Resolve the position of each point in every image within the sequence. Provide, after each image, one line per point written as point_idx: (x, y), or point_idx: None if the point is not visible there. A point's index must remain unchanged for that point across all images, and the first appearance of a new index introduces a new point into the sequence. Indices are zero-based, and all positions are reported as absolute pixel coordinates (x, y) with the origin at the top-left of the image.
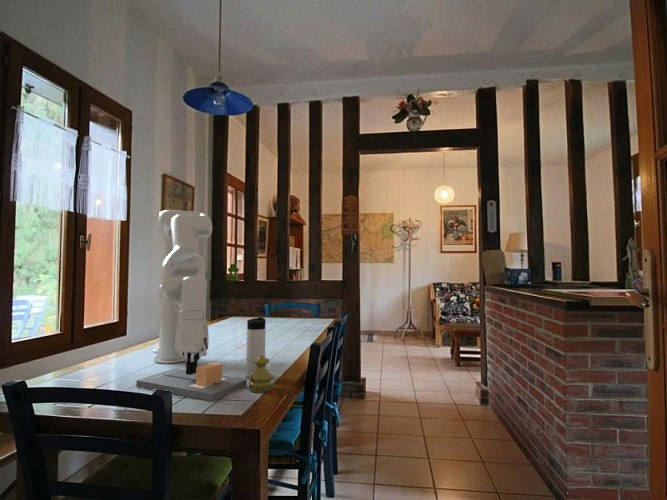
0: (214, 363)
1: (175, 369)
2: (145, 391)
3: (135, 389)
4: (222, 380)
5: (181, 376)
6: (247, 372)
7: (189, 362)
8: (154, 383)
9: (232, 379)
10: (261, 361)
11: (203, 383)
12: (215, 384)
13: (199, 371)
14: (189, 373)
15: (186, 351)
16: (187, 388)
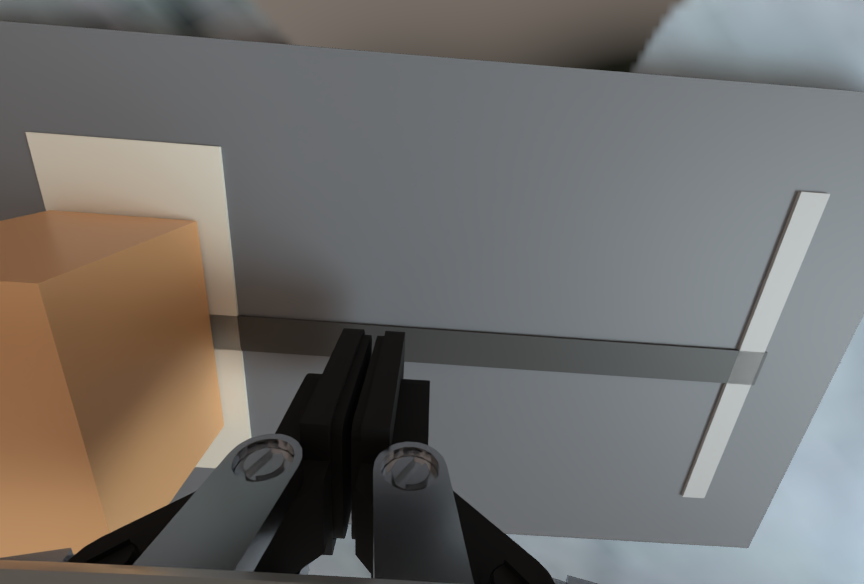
0: (37, 539)
1: (733, 520)
2: (700, 11)
3: (850, 24)
4: None
5: (542, 385)
6: None
7: (314, 419)
8: (668, 77)
9: None
10: None
11: (72, 217)
12: None
13: (18, 258)
14: (348, 333)
15: (212, 582)
16: (166, 69)
